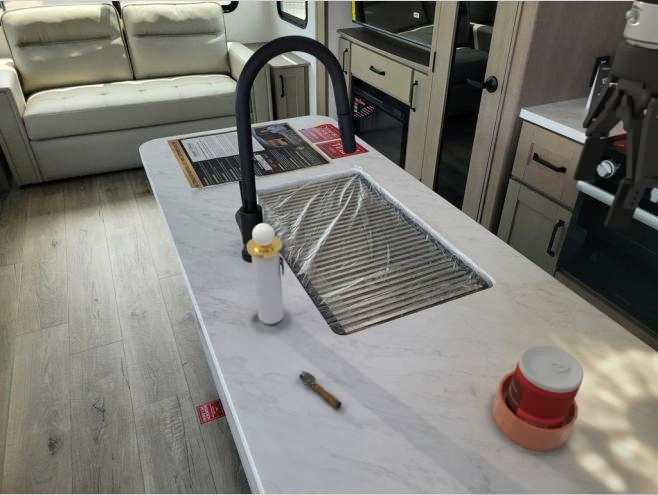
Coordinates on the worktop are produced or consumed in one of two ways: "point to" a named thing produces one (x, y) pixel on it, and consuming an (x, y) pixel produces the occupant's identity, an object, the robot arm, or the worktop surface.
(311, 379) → the can opener
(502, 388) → the bowl
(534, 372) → the canned food
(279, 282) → the perfume bottle
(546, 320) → the worktop surface
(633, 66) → the robot arm
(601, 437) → the worktop surface
